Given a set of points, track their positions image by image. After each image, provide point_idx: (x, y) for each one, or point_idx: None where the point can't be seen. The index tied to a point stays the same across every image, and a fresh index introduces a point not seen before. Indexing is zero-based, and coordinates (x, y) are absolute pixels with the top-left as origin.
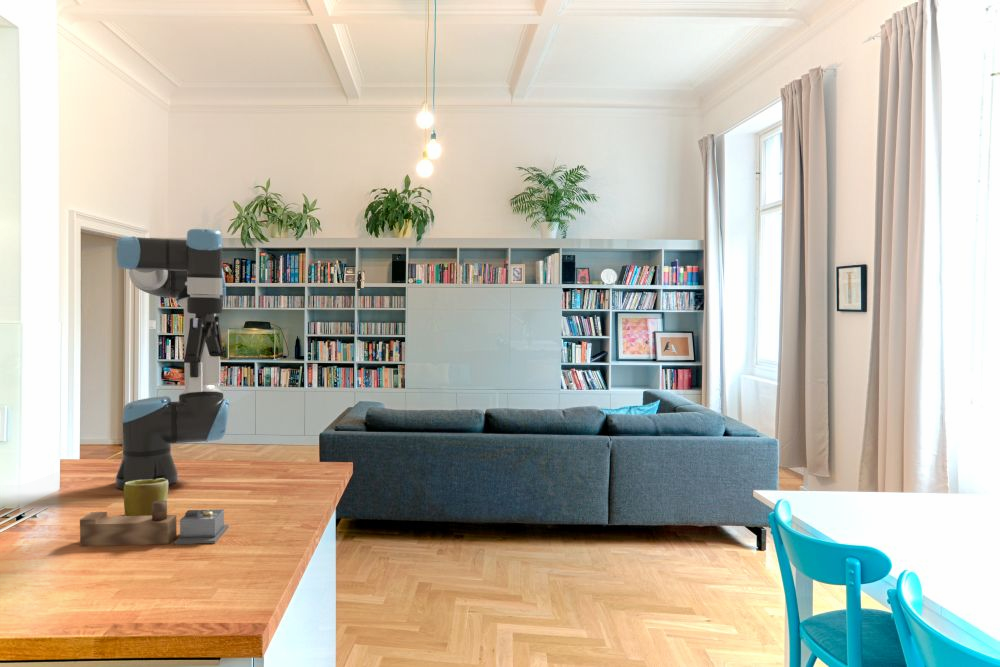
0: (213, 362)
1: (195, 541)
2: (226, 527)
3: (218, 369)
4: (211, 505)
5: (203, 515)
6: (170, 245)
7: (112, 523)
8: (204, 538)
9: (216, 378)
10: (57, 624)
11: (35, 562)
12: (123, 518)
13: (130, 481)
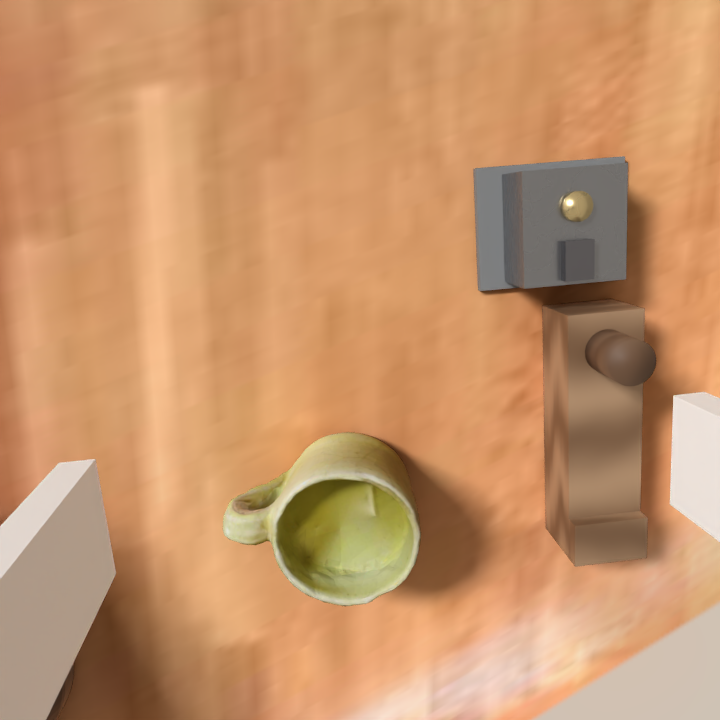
0: (8, 683)
1: None
2: (499, 166)
3: (35, 549)
4: (228, 322)
5: (587, 218)
6: None
7: (638, 468)
8: None
9: (86, 513)
10: None
11: (708, 557)
12: (591, 462)
13: (334, 599)
